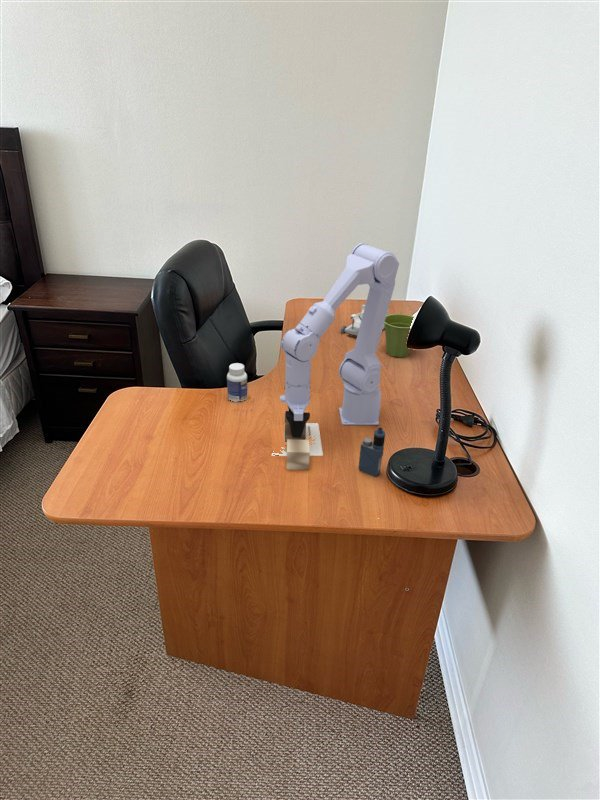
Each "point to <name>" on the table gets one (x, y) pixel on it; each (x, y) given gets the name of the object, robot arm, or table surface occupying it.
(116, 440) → the table surface
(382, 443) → the vaping device
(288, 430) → the walnut block
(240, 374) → the pill bottle
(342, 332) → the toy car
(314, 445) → the letter
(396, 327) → the plant pot
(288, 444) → the beech block
